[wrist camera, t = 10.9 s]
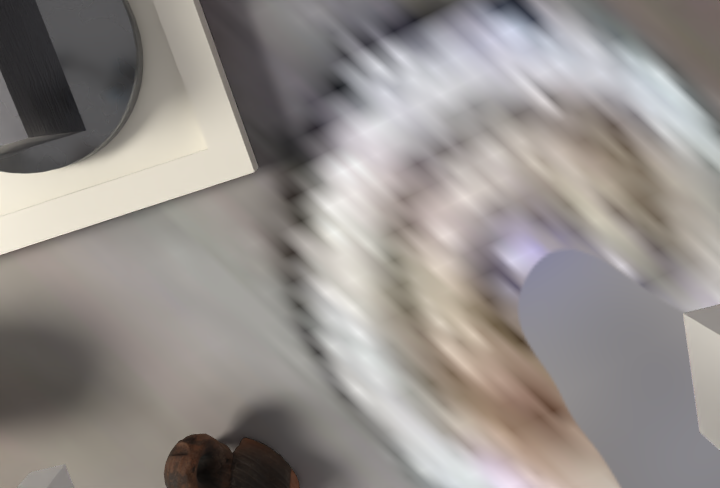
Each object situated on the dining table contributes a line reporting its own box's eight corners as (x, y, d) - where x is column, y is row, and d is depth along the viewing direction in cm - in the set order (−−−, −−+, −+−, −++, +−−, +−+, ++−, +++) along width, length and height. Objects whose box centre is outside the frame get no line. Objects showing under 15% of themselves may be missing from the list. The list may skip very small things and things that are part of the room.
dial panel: (130, -193, 33) (114, -218, 30) (258, 167, 38) (254, 172, 35) (-227, -75, 33) (-273, -90, 31) (-55, 269, 38) (-82, 281, 35)
